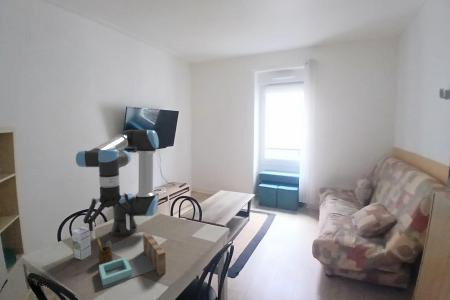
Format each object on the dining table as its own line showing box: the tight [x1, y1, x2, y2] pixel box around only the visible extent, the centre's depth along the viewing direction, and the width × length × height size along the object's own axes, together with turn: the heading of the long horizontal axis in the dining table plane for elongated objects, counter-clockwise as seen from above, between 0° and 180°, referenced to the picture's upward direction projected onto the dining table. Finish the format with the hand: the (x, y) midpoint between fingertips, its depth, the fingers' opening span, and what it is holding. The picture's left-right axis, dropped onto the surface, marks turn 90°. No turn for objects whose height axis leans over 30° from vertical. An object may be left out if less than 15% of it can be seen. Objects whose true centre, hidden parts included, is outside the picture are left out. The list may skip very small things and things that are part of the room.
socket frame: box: [98, 256, 132, 287], centre depth 104 cm, size 12×12×3 cm
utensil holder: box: [97, 238, 114, 265], centre depth 113 cm, size 6×6×12 cm
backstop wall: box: [142, 231, 167, 276], centre depth 114 cm, size 24×3×10 cm, turn 36°
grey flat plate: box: [99, 254, 156, 289], centre depth 107 cm, size 14×22×1 cm, turn 126°
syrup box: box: [71, 226, 92, 261], centre depth 117 cm, size 6×6×14 cm
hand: (111, 232), depth 99 cm, fingers open, 13 cm apart
